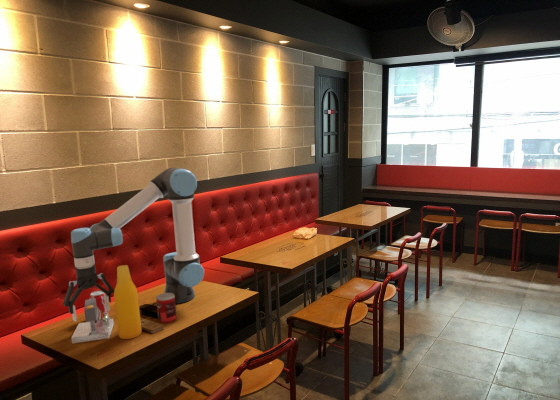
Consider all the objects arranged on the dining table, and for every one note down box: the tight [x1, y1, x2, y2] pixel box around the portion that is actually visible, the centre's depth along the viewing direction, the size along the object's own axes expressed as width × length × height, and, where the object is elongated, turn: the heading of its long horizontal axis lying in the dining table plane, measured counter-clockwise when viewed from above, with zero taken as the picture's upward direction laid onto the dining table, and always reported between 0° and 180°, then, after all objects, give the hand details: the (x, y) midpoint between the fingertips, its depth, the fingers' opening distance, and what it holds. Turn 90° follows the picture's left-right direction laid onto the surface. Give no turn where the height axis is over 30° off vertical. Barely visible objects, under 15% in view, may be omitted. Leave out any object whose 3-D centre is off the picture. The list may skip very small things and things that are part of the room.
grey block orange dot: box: [83, 298, 97, 328], centre depth 190 cm, size 12×4×11 cm, turn 20°
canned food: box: [155, 292, 178, 324], centre depth 201 cm, size 8×8×11 cm
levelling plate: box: [71, 313, 115, 344], centre depth 191 cm, size 14×14×5 cm
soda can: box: [89, 290, 109, 321], centre depth 206 cm, size 7×7×12 cm
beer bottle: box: [113, 264, 143, 340], centre depth 186 cm, size 9×9×29 cm
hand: (91, 315), depth 191 cm, fingers open, 13 cm apart
